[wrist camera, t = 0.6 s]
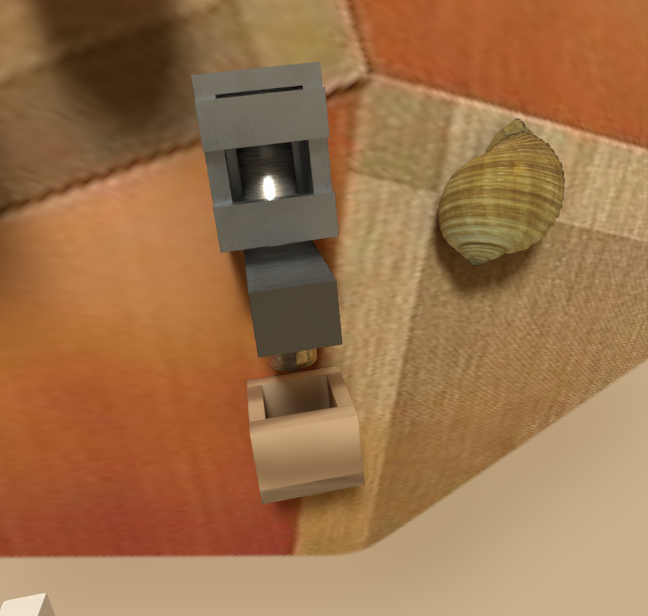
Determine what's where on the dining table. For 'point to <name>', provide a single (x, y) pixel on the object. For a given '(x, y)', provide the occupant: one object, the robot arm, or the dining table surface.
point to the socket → (304, 434)
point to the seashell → (503, 197)
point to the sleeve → (262, 129)
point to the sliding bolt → (286, 273)
